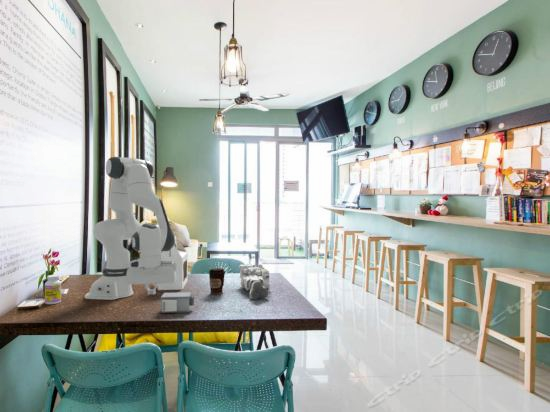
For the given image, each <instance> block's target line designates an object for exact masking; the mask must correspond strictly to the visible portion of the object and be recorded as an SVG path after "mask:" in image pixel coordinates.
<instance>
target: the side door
mask: <svg viewBox="0 0 550 412" xmlns="http://www.w3.org/2000/svg"><path fill="white" fill-rule="evenodd" d="M165 311H177V299H170V300H162V312H165Z"/></svg>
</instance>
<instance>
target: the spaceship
mask: <svg viewBox="0 0 550 412" xmlns="http://www.w3.org/2000/svg"><path fill="white" fill-rule="evenodd" d="M238 270H239V272H240V274H239V275H240V286H241V288H242V289H245V290H246V291H249V298H250V299H251V300H254V301H256V300H258V299H259V298H264V299H265V298H267V297H268V296H269V295H270V293H269V291H271V284H270V271H269V270H268V269H267V268H265V267H264V265H263V264H257V265H256V264H250V263H246V264H245V263H243V264H239V266H238Z"/></svg>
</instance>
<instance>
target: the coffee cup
mask: <svg viewBox="0 0 550 412" xmlns="http://www.w3.org/2000/svg"><path fill="white" fill-rule="evenodd" d="M208 275H209V276H208V277H209V278H208V279H209V288H210V294H211V295H222V294H224V292H223V287H224V285H225V276H226V271H225V268H223V267H222V268H221V267H216V268H214V267H213V268H210V270H209V271H208Z"/></svg>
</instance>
